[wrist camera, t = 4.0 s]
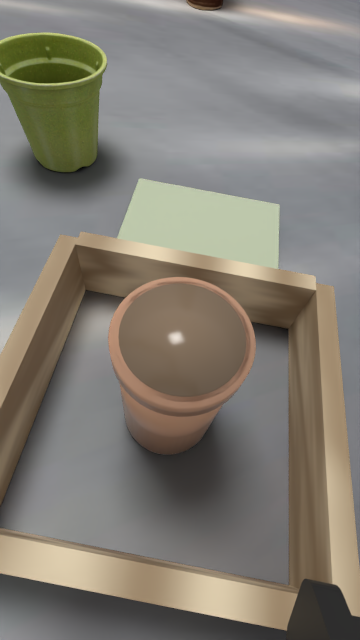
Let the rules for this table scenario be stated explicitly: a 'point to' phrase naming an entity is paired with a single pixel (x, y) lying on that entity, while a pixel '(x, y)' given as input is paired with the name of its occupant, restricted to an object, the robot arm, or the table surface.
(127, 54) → the table surface
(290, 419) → the frame
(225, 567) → the table surface
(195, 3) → the coffee cup
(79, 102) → the plant pot
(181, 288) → the seedling pot
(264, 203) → the green mat
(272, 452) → the table surface
